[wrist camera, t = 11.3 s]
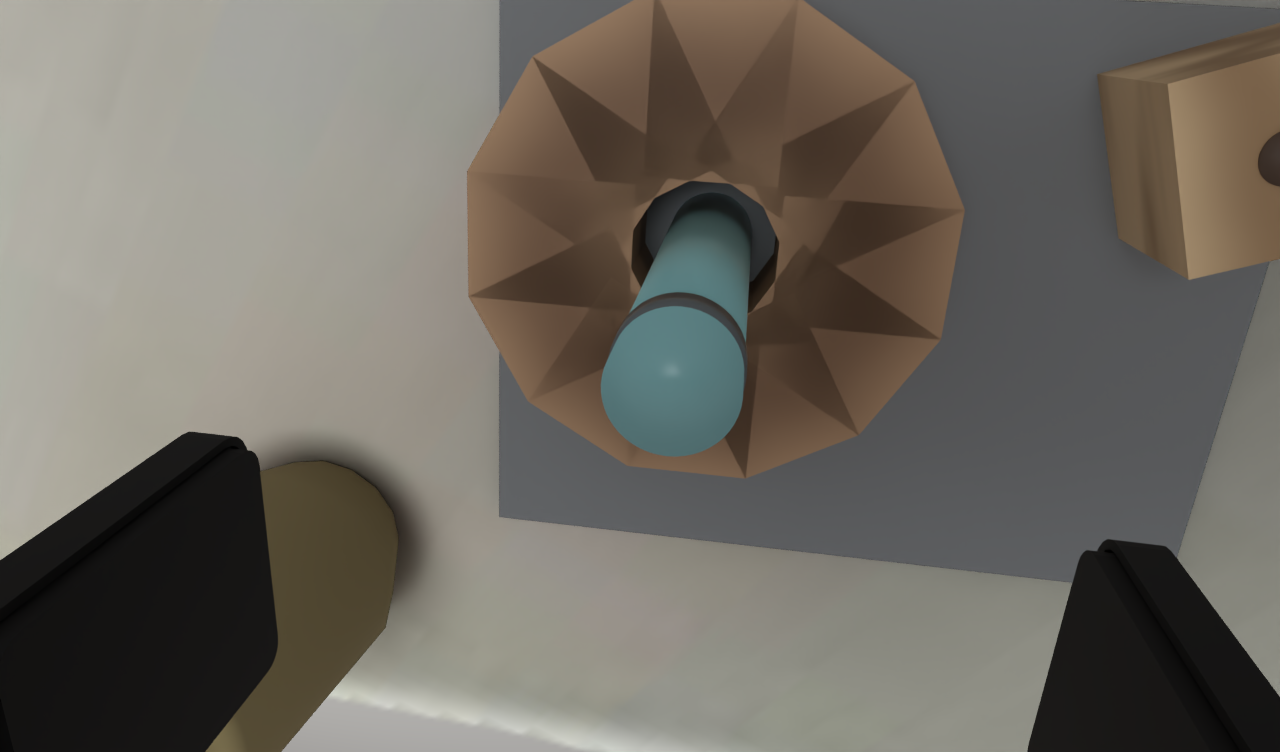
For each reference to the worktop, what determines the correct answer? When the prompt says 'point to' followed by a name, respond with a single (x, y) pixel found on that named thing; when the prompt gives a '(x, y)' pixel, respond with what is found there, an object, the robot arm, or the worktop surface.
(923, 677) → the worktop surface
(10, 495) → the worktop surface
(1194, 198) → the cube bead
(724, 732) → the worktop surface
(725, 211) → the teal marker pen
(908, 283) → the faceted wooden ring
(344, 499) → the squeeze bottle
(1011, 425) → the felt mat
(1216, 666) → the robot arm
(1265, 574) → the worktop surface
